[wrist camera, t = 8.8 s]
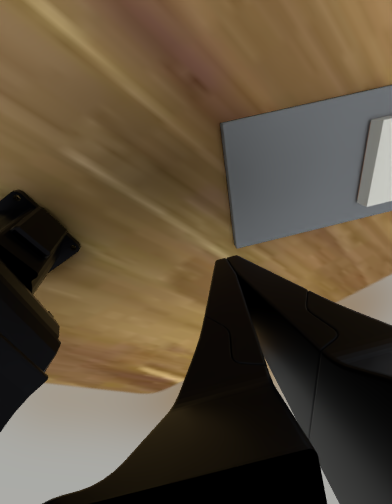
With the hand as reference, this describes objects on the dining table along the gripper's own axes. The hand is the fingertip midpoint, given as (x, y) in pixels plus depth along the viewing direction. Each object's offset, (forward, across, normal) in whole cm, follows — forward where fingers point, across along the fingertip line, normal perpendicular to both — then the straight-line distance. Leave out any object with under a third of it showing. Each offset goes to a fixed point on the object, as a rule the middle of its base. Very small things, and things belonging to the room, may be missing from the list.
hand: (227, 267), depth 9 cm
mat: (+13, -13, +2) cm, 18 cm away
